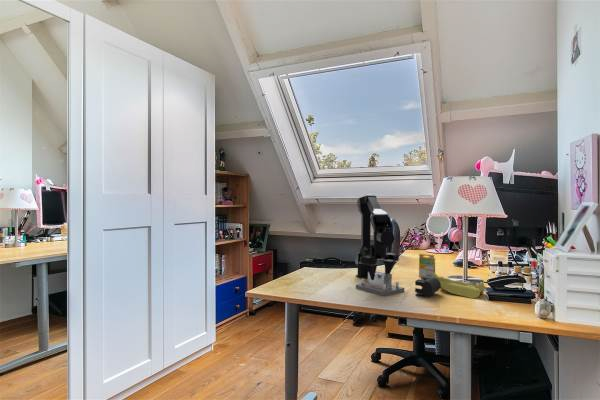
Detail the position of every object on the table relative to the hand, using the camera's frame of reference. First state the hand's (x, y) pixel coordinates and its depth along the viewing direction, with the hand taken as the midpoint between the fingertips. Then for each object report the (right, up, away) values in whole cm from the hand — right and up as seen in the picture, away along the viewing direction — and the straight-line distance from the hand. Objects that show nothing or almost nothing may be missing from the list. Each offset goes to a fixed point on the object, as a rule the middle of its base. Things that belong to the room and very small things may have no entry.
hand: (379, 278), depth 158 cm
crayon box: (+29, -5, +26) cm, 39 cm away
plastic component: (+33, -6, -3) cm, 33 cm away
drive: (0, -3, 0) cm, 3 cm away
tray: (0, -5, 0) cm, 5 cm away
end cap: (+18, -5, -8) cm, 20 cm away
